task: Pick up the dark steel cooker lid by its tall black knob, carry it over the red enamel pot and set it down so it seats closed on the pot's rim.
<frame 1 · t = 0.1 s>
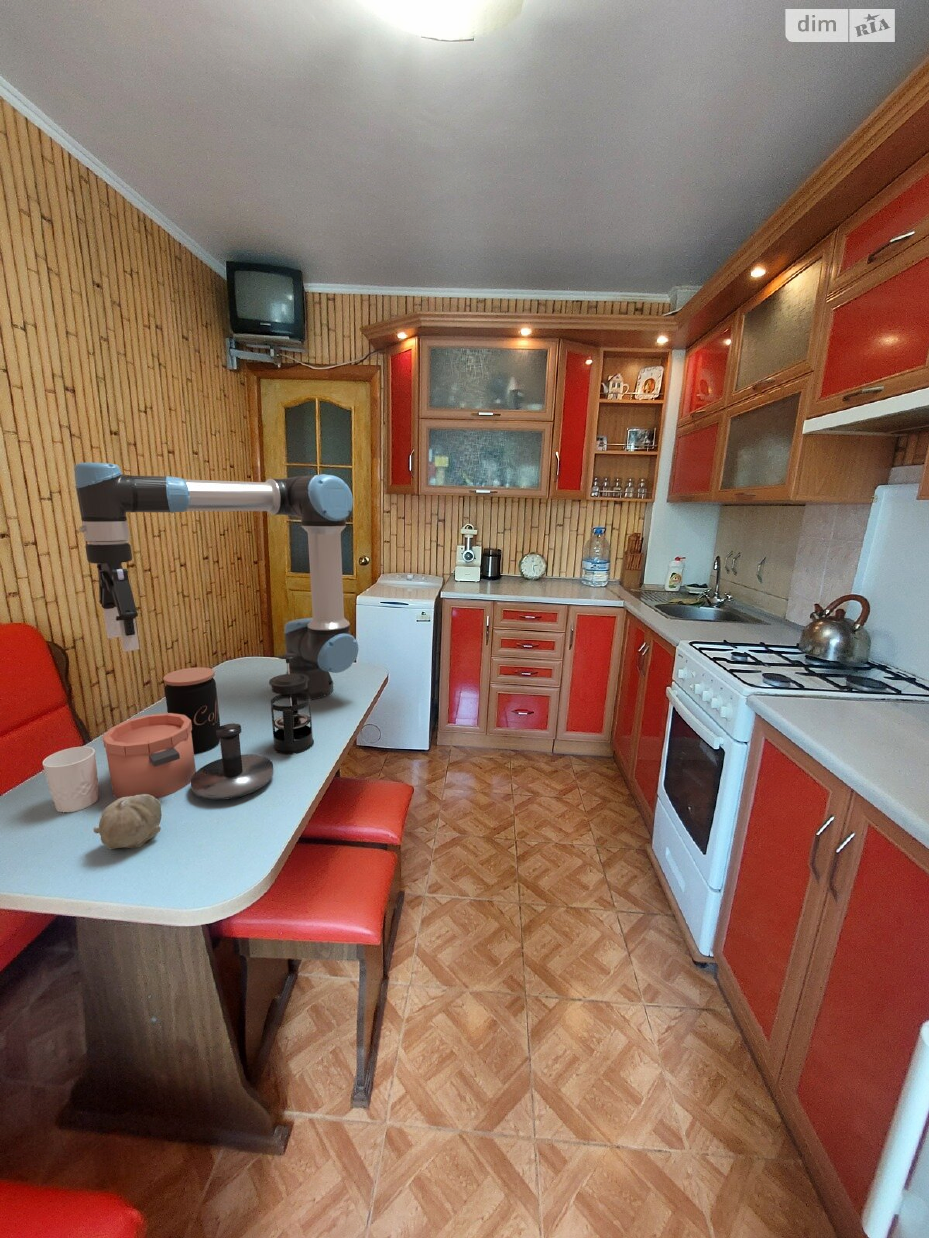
hand: (122, 643, 106), 28 cm above the table, tool pointing down, fingers open, 13 cm apart
french press: (293, 746, 121), on the table
coffee jar: (197, 745, 121), on the table
white cup: (77, 803, 98), on the table
lid: (234, 784, 104), on the table
garlic bulb: (131, 844, 86), on the table
pot: (155, 780, 105), on the table
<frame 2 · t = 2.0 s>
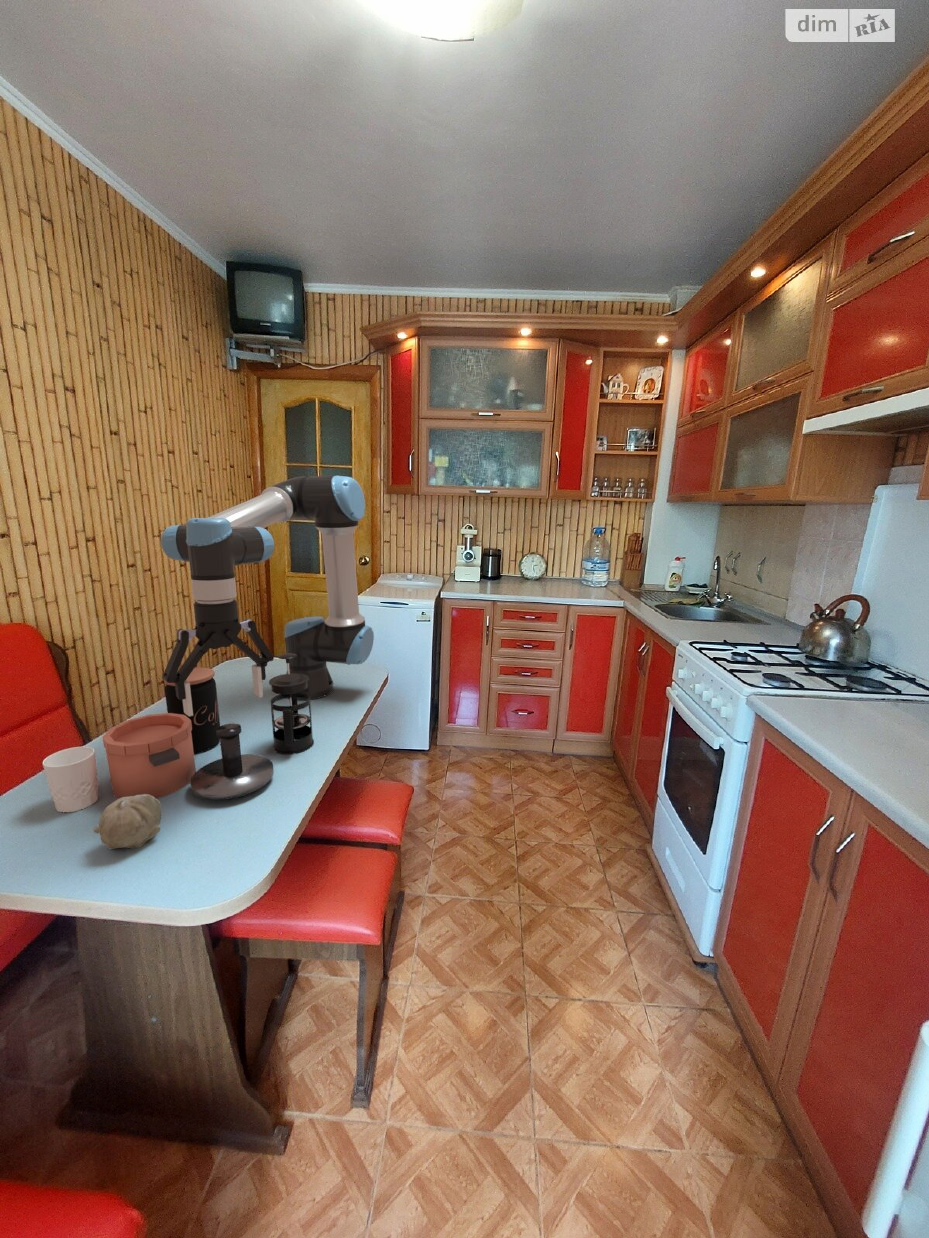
hand: (225, 704, 100), 18 cm above the table, tool pointing down, fingers open, 13 cm apart
nothing on the table moved.
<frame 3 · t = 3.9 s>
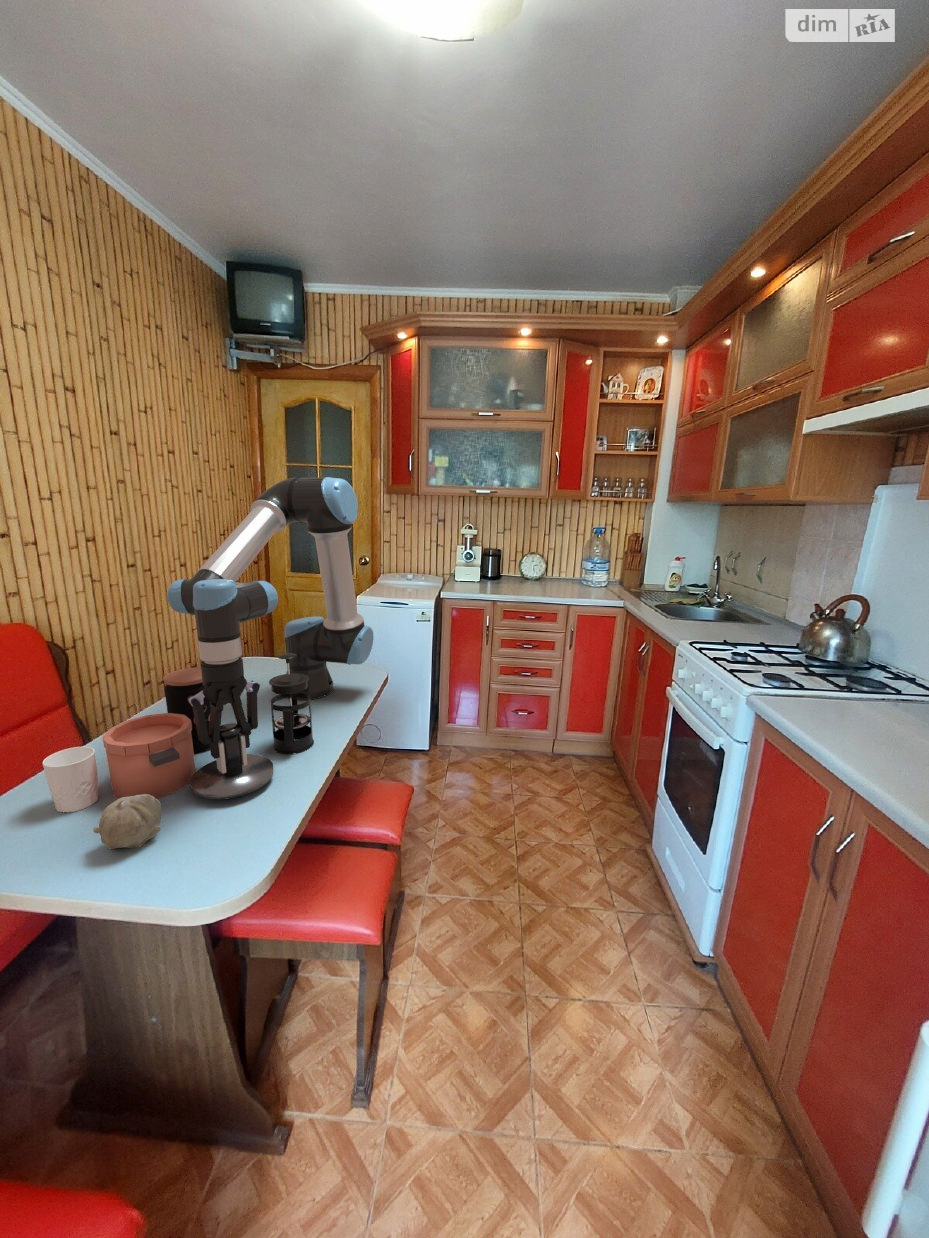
hand: (232, 766, 103), 4 cm above the table, tool pointing down, fingers closed on lid, 4 cm apart
lid: (234, 784, 104), on the table, touching gripper
everything else where it was.
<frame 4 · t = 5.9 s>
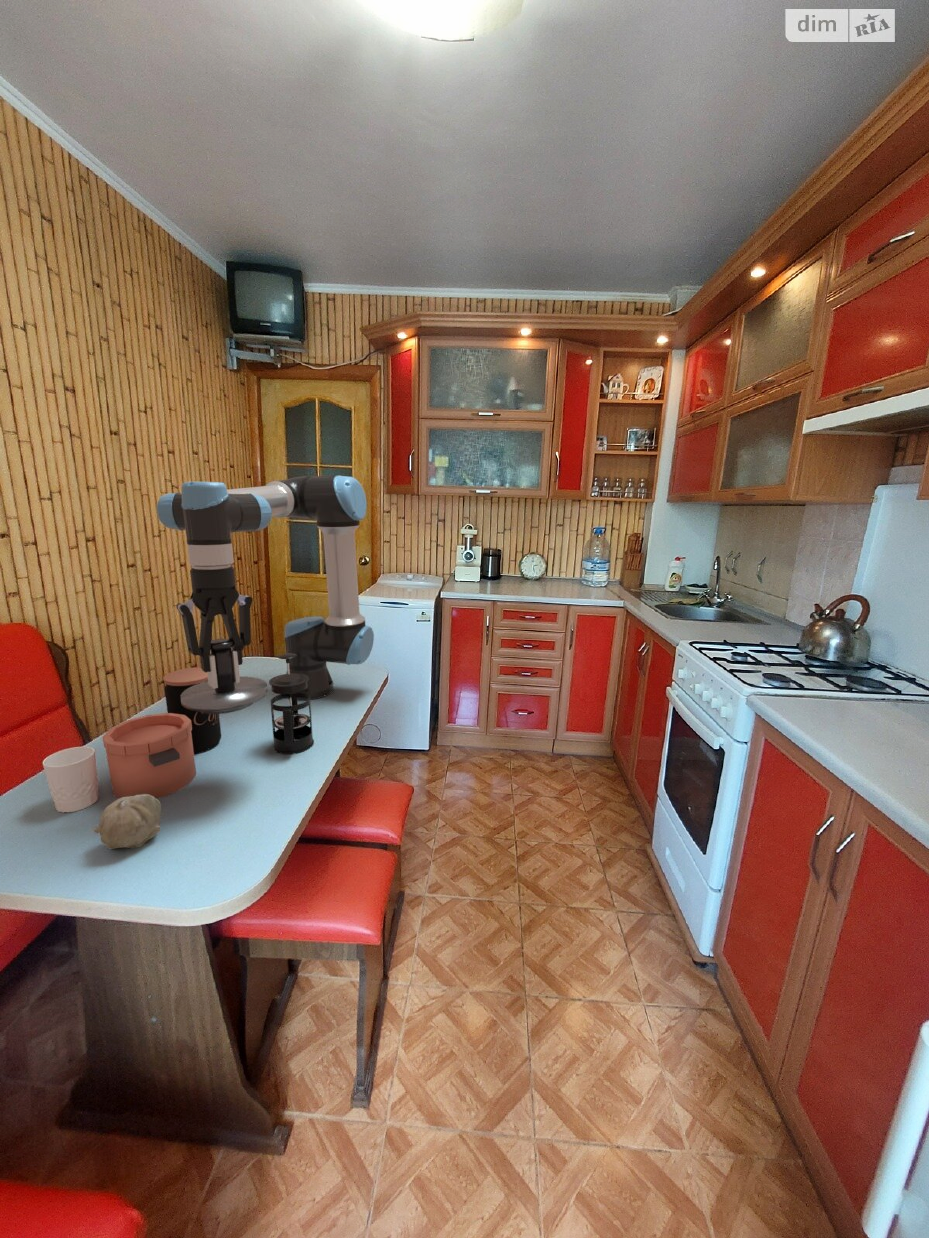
hand: (224, 683, 99), 22 cm above the table, tool pointing down, fingers closed on lid, 4 cm apart
lid: (226, 702, 100), point 18 cm above the table, touching gripper
everything else where it was.
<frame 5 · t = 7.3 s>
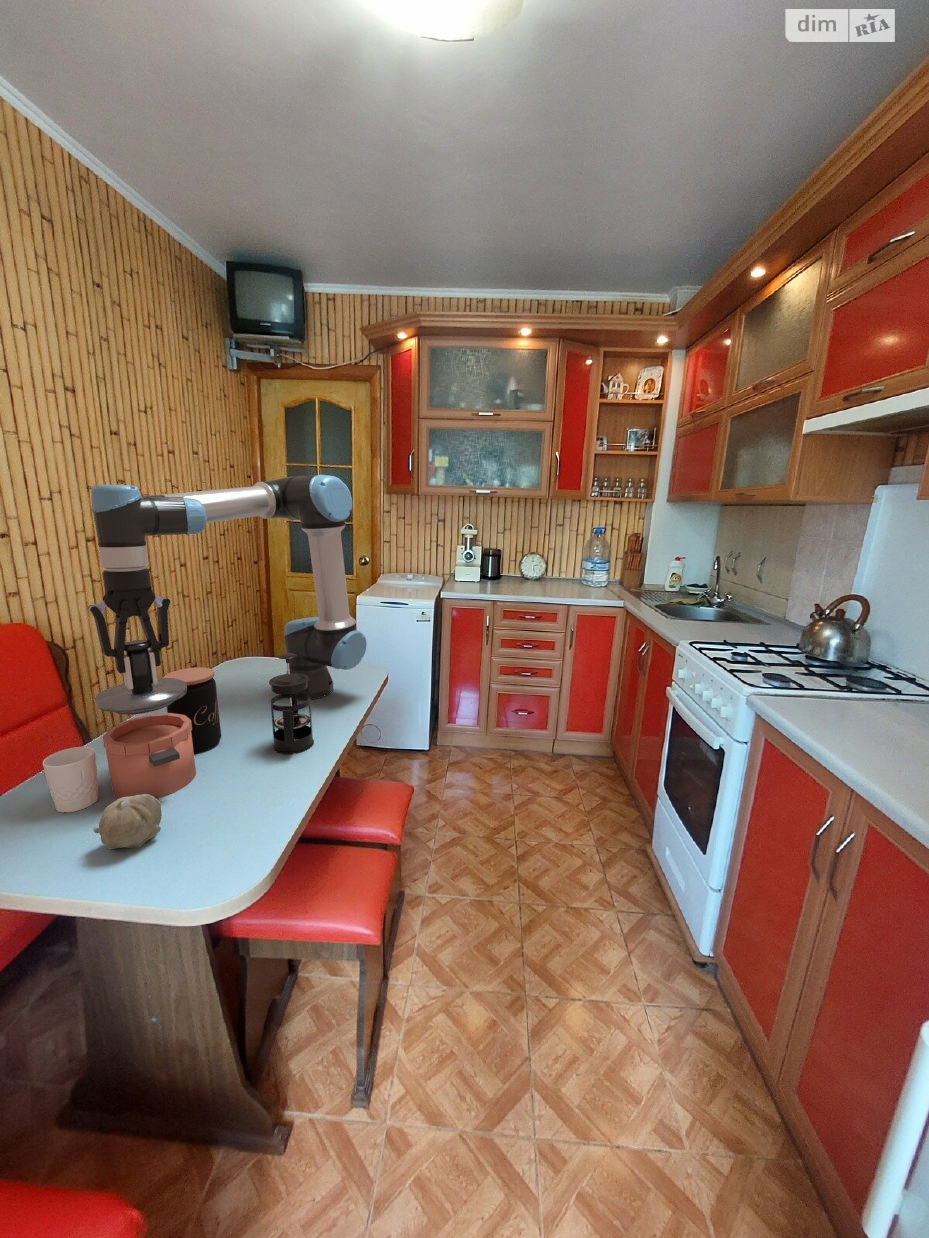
hand: (141, 684, 100), 22 cm above the table, tool pointing down, fingers closed on lid, 4 cm apart
lid: (144, 703, 101), point 17 cm above the table, touching gripper
everything else where it was.
when the fingers open (16 cm above the table, at t = 8.2 s): lid stays where it is, point 11 cm above the table.
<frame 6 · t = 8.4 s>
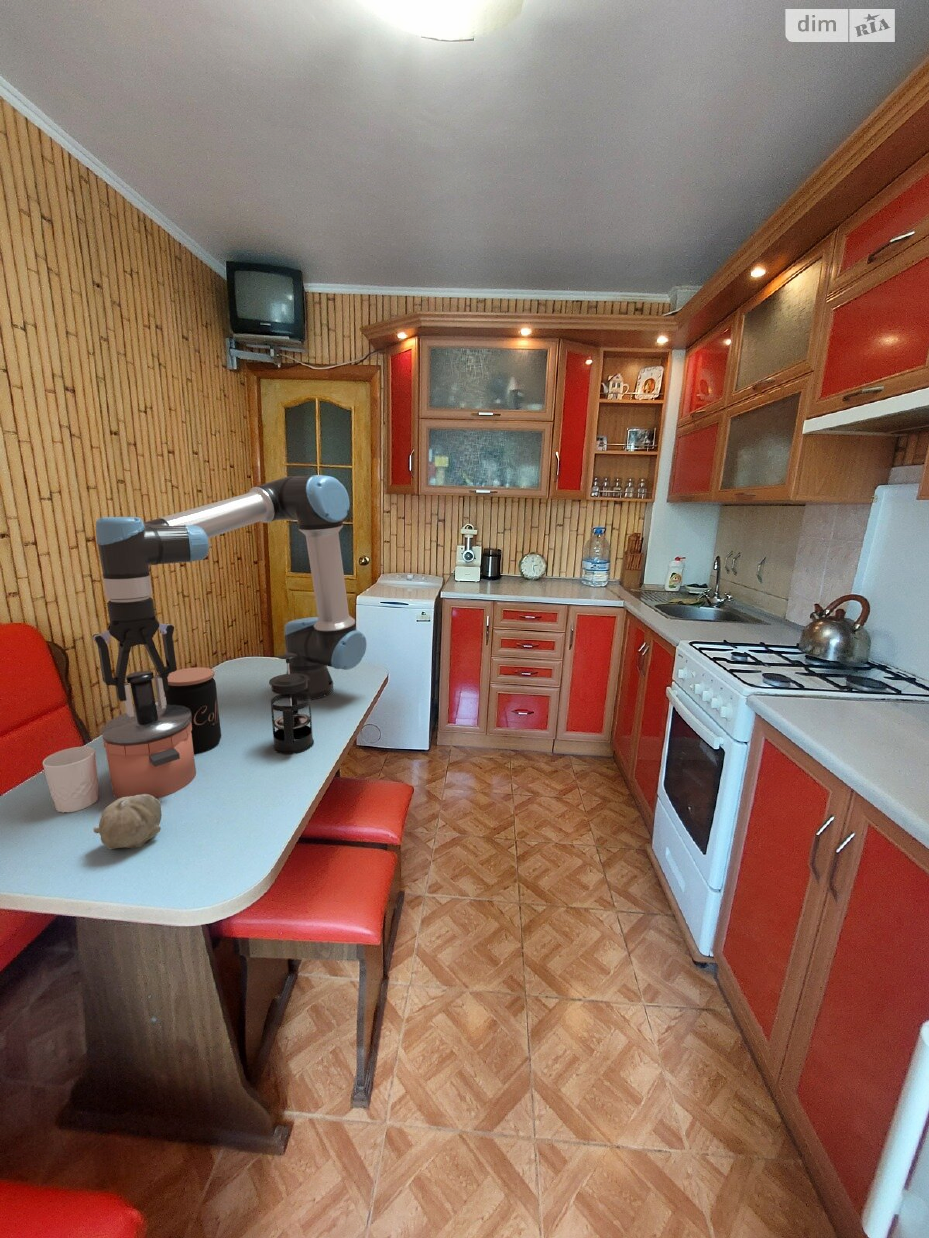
hand: (146, 710, 102), 16 cm above the table, tool pointing down, fingers open, 5 cm apart
lid: (150, 732, 103), point 11 cm above the table, touching gripper
everything else where it was.
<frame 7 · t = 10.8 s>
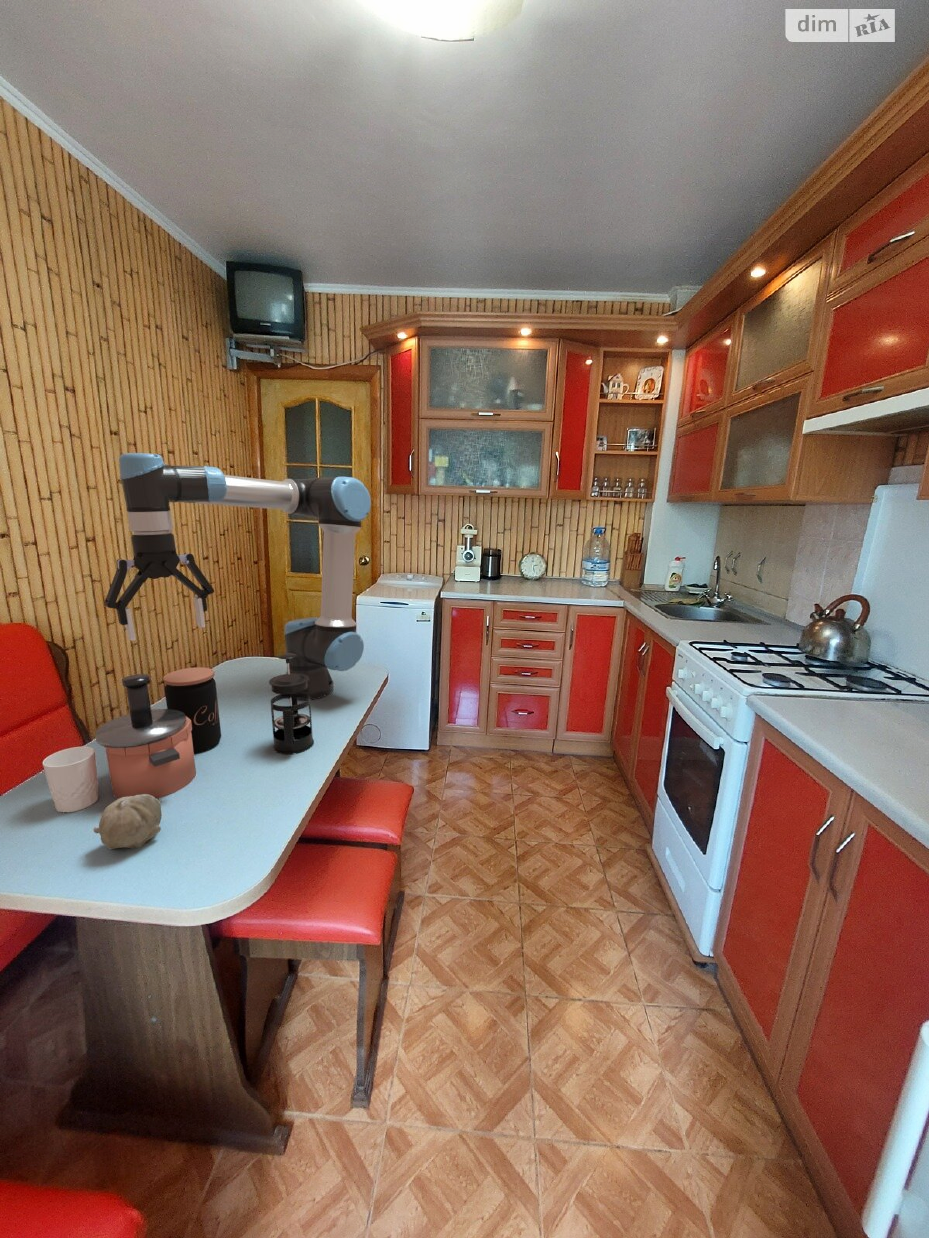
hand: (168, 632, 107), 30 cm above the table, tool pointing down, fingers open, 13 cm apart
lid: (144, 737, 102), point 10 cm above the table, touching pot
everything else where it was.
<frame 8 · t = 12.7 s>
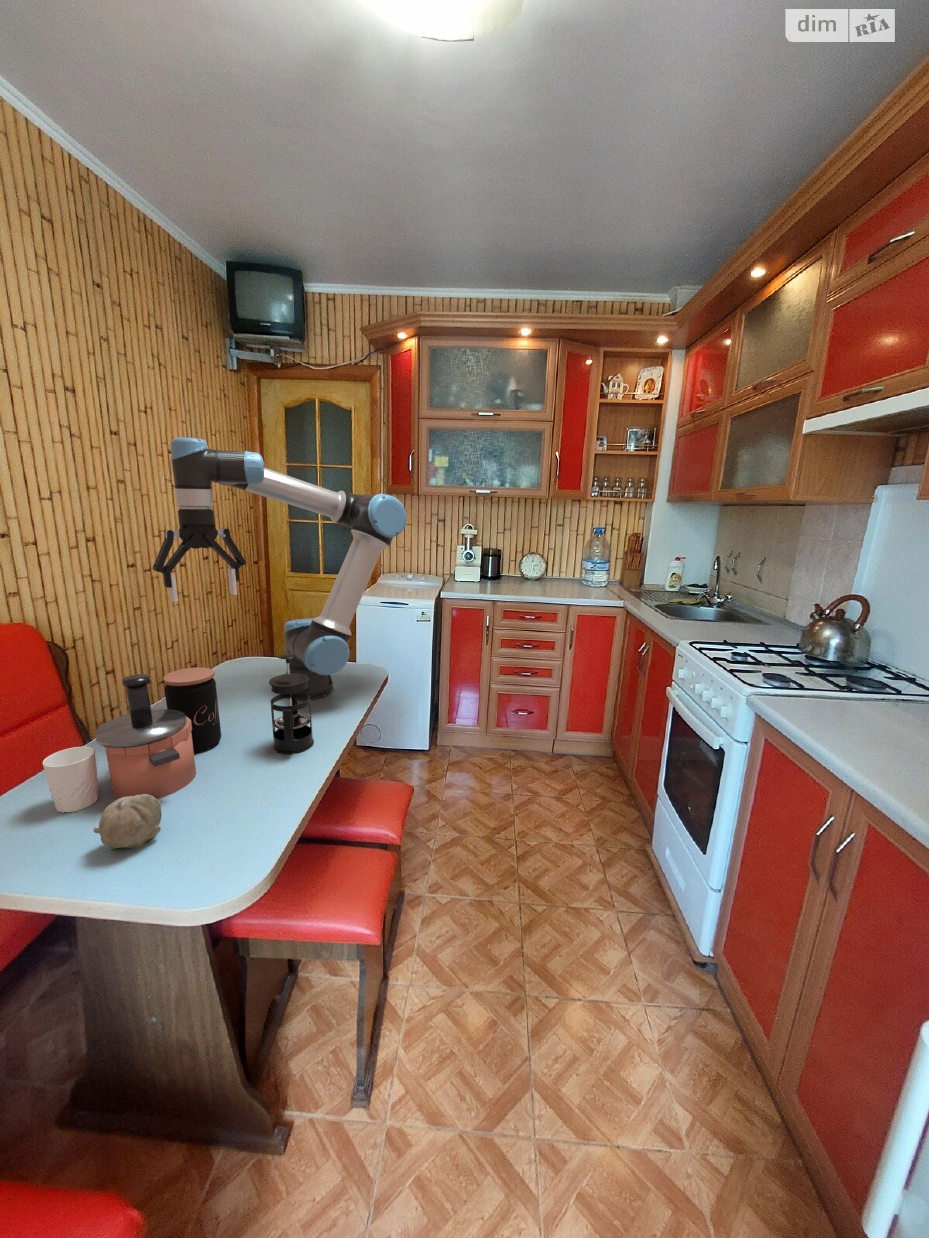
hand: (205, 597, 122), 35 cm above the table, tool pointing down, fingers open, 13 cm apart
nothing on the table moved.
at the end: lid 0.9 cm off-centre on the pot, point 10.4 cm above the pot's base; lid tilted 0°; the gripper is holding nothing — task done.
